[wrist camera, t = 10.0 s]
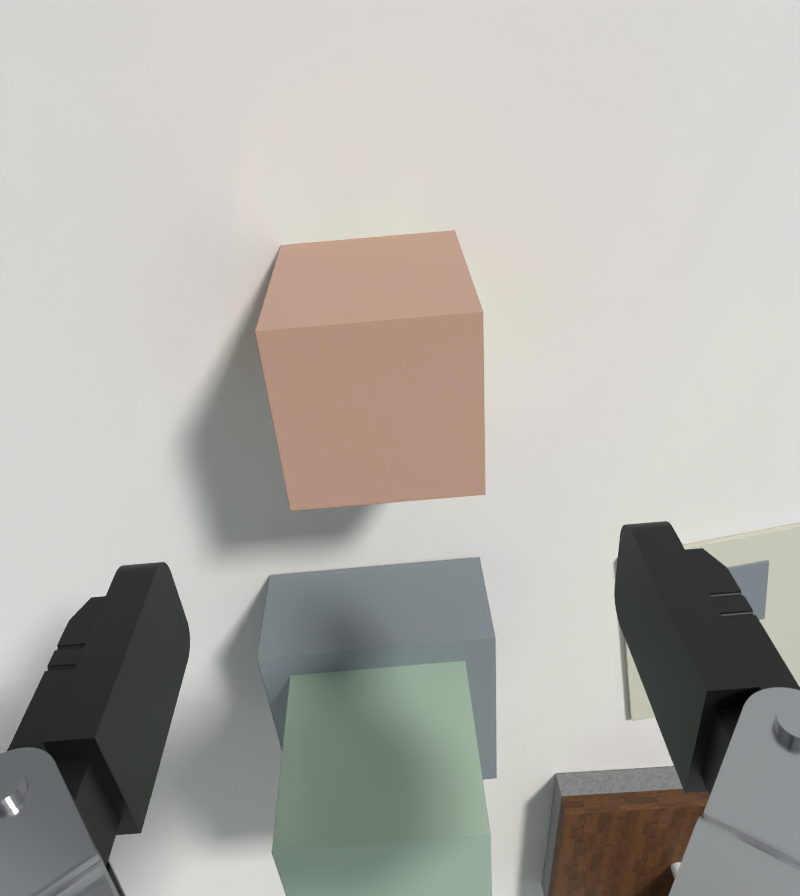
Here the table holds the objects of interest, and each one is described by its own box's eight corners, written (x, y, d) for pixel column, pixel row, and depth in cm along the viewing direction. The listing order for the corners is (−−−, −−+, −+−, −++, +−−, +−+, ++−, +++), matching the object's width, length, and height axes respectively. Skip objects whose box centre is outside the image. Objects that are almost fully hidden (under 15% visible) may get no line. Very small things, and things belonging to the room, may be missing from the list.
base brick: (269, 575, 28) (256, 658, 25) (479, 557, 28) (495, 638, 24) (301, 709, 32) (294, 795, 29) (482, 693, 32) (496, 778, 29)
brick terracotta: (280, 244, 21) (255, 331, 16) (454, 229, 21) (483, 311, 16) (306, 396, 24) (290, 510, 19) (459, 383, 24) (485, 494, 19)
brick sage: (290, 675, 25) (271, 852, 20) (465, 660, 25) (490, 834, 20) (315, 778, 28) (304, 952, 23) (469, 765, 28) (492, 936, 23)
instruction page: (618, 557, 28) (621, 562, 28) (833, 516, 27) (837, 521, 27) (630, 717, 34) (632, 722, 33) (809, 686, 33) (813, 692, 33)
